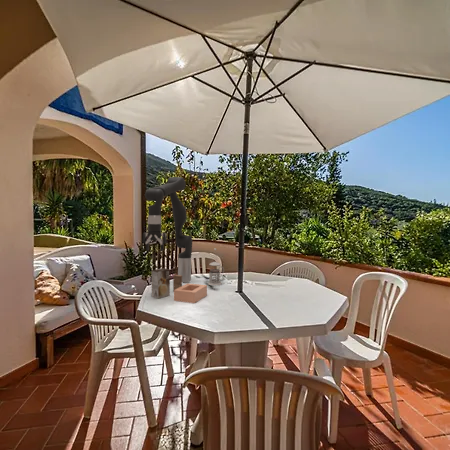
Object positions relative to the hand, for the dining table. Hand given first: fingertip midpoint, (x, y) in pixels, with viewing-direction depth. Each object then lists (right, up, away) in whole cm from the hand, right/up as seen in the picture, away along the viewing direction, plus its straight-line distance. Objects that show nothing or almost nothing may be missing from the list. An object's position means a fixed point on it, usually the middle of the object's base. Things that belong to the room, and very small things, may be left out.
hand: (154, 250), depth 186 cm
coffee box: (+3, -28, +3) cm, 28 cm away
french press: (+35, -26, +37) cm, 57 cm away
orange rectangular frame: (+21, -28, +1) cm, 35 cm away
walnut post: (+11, -27, +15) cm, 33 cm away
